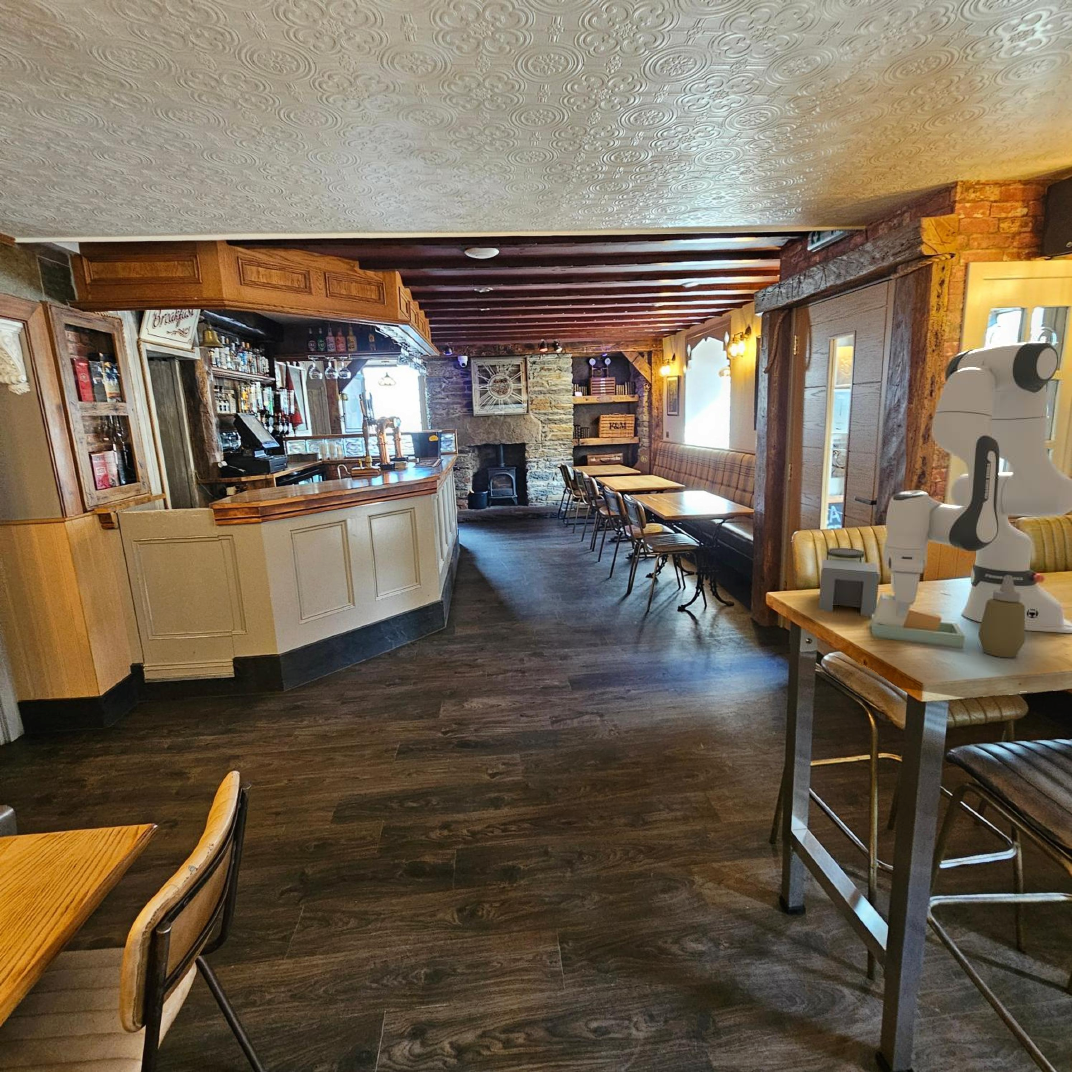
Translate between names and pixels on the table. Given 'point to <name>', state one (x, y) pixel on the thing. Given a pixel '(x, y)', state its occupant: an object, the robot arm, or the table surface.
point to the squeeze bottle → (1003, 622)
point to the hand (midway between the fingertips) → (899, 612)
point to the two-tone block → (914, 617)
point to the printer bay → (849, 585)
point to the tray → (921, 634)
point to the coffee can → (845, 554)
